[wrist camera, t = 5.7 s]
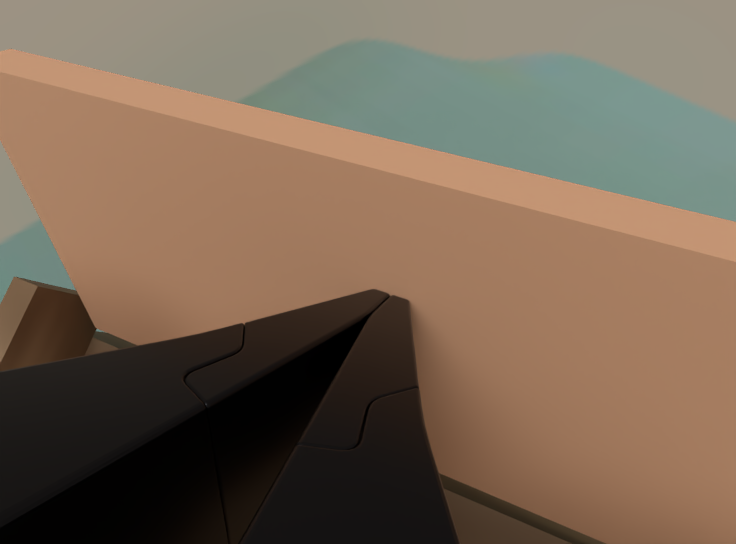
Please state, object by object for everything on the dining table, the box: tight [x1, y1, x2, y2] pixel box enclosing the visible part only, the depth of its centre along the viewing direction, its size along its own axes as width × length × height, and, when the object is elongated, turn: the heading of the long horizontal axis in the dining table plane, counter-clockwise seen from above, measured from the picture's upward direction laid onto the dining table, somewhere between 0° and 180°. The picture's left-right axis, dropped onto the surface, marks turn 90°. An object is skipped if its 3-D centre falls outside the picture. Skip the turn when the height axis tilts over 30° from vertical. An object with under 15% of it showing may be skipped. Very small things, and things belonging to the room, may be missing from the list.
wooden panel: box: [0, 49, 736, 544], centre depth 11 cm, size 1×20×9 cm
